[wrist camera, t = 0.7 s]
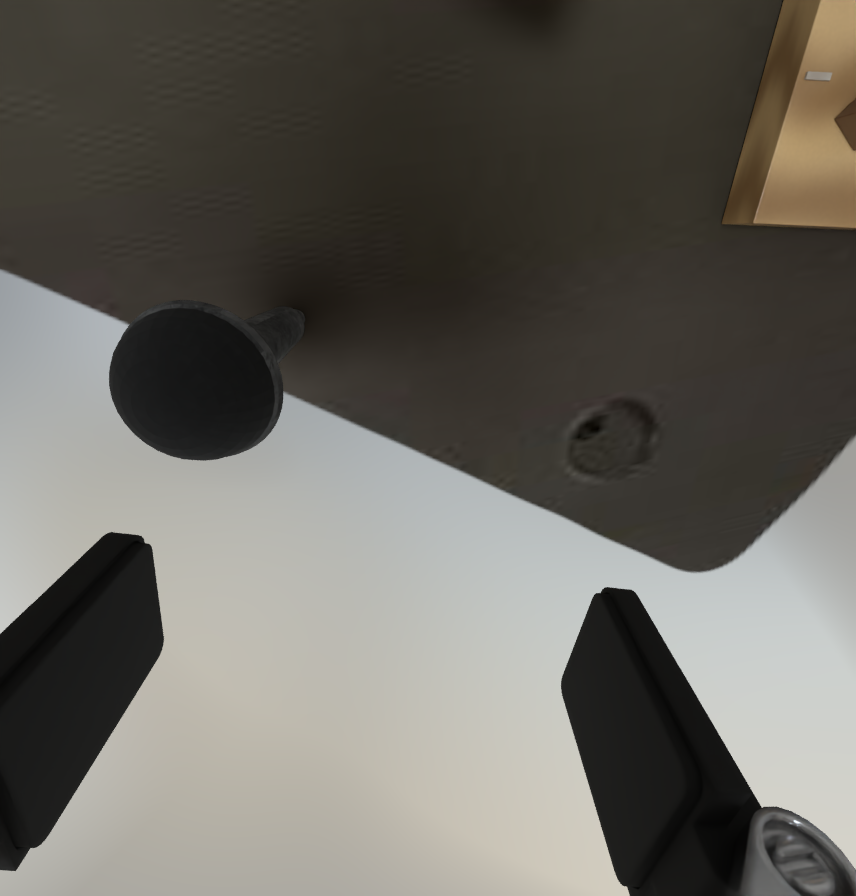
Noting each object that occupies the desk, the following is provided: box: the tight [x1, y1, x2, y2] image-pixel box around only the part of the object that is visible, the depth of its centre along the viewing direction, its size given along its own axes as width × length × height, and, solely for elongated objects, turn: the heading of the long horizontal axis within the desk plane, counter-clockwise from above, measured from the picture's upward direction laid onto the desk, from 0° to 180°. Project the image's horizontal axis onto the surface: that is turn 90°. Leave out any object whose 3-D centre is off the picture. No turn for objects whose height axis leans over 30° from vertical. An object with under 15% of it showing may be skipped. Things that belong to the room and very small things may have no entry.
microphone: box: [109, 300, 305, 460], centre depth 26 cm, size 7×7×20 cm
